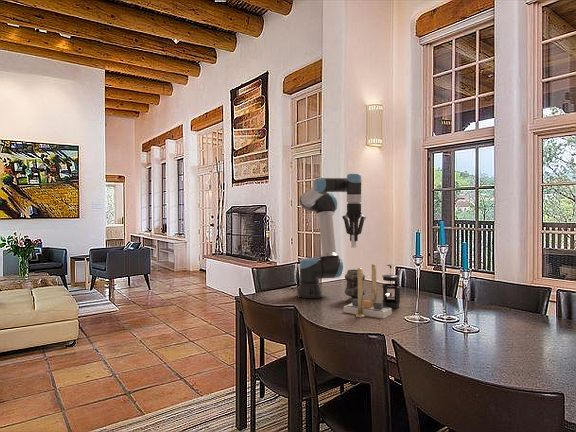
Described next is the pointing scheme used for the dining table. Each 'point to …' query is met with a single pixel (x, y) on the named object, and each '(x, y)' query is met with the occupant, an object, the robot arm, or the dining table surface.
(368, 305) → the paddle mid
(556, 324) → the dining table surface
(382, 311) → the panel
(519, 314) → the dining table surface
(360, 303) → the candlestick
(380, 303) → the paddle far
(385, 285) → the black lantern
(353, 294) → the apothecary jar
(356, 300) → the paddle near base
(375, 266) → the candlestick
